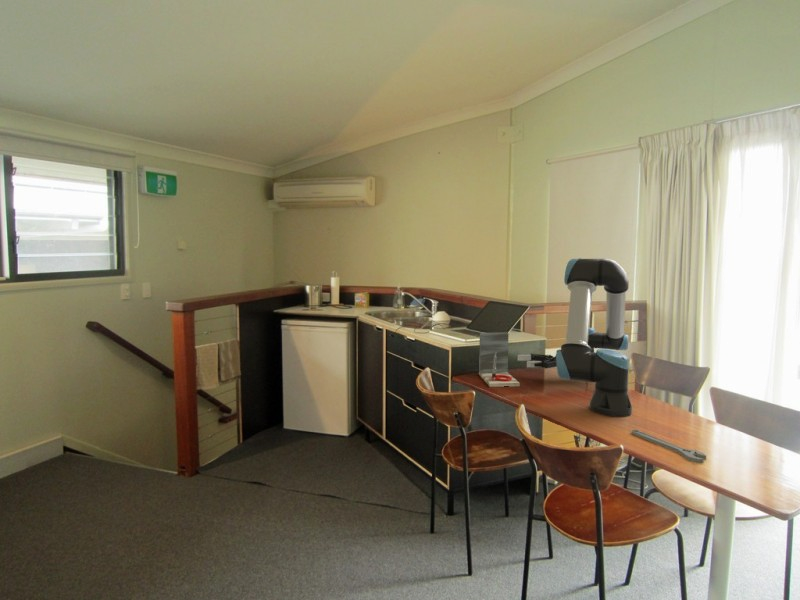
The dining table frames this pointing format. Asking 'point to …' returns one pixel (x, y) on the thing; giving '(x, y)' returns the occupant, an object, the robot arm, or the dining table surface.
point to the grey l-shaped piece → (486, 359)
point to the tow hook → (495, 377)
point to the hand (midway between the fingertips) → (522, 361)
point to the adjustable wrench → (673, 447)
